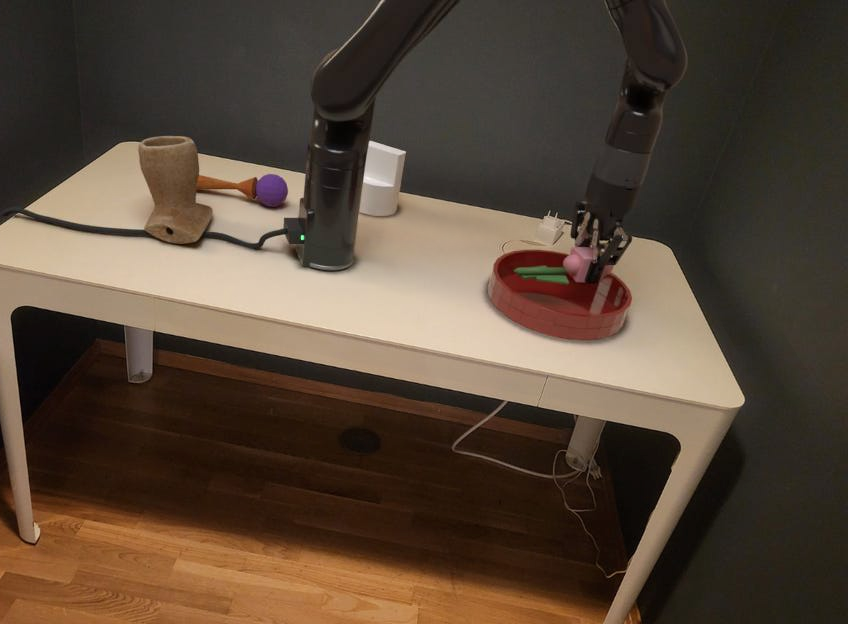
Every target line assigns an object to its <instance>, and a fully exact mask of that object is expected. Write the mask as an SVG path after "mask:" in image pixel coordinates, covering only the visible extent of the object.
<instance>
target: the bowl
mask: <svg viewBox="0 0 848 624" xmlns="http://www.w3.org/2000/svg"><path fill="white" fill-rule="evenodd" d="M569 254H570V253H564V252H560V251H555V250H547V249H520V250H513V251H509V252H507V253H504V254H502V255H500V256H499V257H498V258H497V259H496V260H495V262H494V263H493V266H492V270H491V272H490V277H489V281H488V284H487V285H488V286H487V295H488V298H489V300H490V302H491V303H492V305H493V306H494V307H495V309H497V310H498V311H499V312H500V313H501V314H502V315H503V316H505V317H506V318H508V319H509V320H511V321H513V322H514V323H516V324H518V325H519V326H522V327H524V328H526V329H528V330H530V331H533V332H535V333H540V334H541V335H546V336H550V337H553V338H558V339H563V340H571V341H572V340H573V341H595V340H597V341H598V340H602V339H605V338H608V337H611V336H613V335H615V334H617V333H618V332H619V331H620V330H621V329H622V328H623V326H624V324H625V320H626V318H627V315H628V312H629V310H630V308H631V305H632V301H633V297H632V292H631V290H630V288H629V287H628V285H627V284H626V283H625V282H624V281H623V280H622V279H621V278H619V277H618V275H616V274H615V273H613V272H612V271H611V272H610V274H608V275H607V276H605V277H604V279H603V282H598V283H597V284H587V283H586V282H576V281H575V280H574V279H573V278H572V277H571V276H570V275H569V274H557V275H565V276H566V277H567V279H568V281H569V284H568V285H567V284H559V283H551V282H543V281H537V280H536V278H533V279H526V280H524V279H523V278H521V277H520V276H519V275H518V274H516V273H515V272H514V269H517V268H519V267H537V266H546V267H563V261H564V259H565V258H566V257H567V256H569Z"/></svg>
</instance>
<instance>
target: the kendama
mask: <svg viewBox="0 0 848 624" xmlns="http://www.w3.org/2000/svg"><path fill="white" fill-rule="evenodd" d="M196 190H236V191H238V192H240V193H242V194H243V195H245V196H247V197H249V198H250V199H251V200H254V201H255V200H256V199H258V200H259V202H260V203H261V204H263V205H264V206H266V207H277V206H281V205H282V204H283V203H284V202H285V201H286V199H287V197H288V194H289V188H288V184H287V182H286V181H285V179H284V178H283V177H281V176H280V175H278V174H274V173H268V174H265V175H263V176H262V177H260V178H259V179H258V177H257V176H254V177H252V178H248V179H246V180H243V181H240V182H237V183H236V182H232V181H227V180H224V179H220V178H214V177H211V176H205V175H201V174H199V177H198V182H197V188H196Z"/></svg>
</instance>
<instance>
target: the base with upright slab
mask: <svg viewBox="0 0 848 624" xmlns="http://www.w3.org/2000/svg"><path fill="white" fill-rule="evenodd" d="M406 153H407V151H405V150H403V149H399V148H395V147H392V146H389V145H385V144H382V143H379V142H376V141H373V140H370V141H369V146H368V151H367V157H366V165H365V173H364V180H363V187H362V195H361V202H360V210H359V213H362V214H364V215H367V216H372V217H388V216H392V215H394V214H396V213H397V209H398V204H399V199H400V198H399V197H400V191H401V185H402V178H403V172H404V167H405V159H406Z"/></svg>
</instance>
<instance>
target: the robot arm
mask: <svg viewBox="0 0 848 624" xmlns="http://www.w3.org/2000/svg"><path fill="white" fill-rule="evenodd" d="M461 1H462V0H377V1H376V3H375V4H374V6H373V8H372V9H371V10H370V11H369V14H368V15H367V16H366V18H365V19H364V20H363V22H362V23H361V24H360V25H359V26H358V27H357V29H356V30H355V31H353V32H352V34H351V35H350V36H349V37H348V38H347V39H346V40H345V42H343V44H341V45H340V46H339V47H338V48H336V49H333V50H332V51H329V53H327V54H326V55H325V56H324V57H323V59H321V61H320V62H319V64H318V65H317V67H316V68H315V70H314V72H313V73H312V74H313V75H312V77H311V81H310V96H311V101H312V105H313V113H312V122H311V127H310V132H309V136H308V141H307V152H306V164H305V175H304V188H303V197H300V198H299V206H298V217H283V225H282V226H283V227H282V228H280V229H275V230H272V231H268V232H266V233H264V234H262V235H261V236H260V238H259V240H258V242H255V243H253V242H246V241H243V240H241V239H239V238H236V237H234V236H231V235H229V234H227V233H223V232H217V231H209V230H204V232H203V234H202V235H201V237H202V238H203V237H204V238H215V239H221V240H224V241H228V242H229V243H233V244H235V245H237V246H241V247H243V248H248V249H251V250H258V249H261V248H262V247H263V246H264V244H265V242H266V241H267V240H268V239H271V238H274V237H279V236H283V235H284V236H285V238H286V240H287V243H288V245H295V251H296V255H297V258H298V259H299V261H300V264H301V266H302V267H310V268H313V269H316V270H322V271H340V270H345V269H347V268H349V267H351V266H352V265H353V263H354V258H355V257H354V256H355V255H354V254H355V246H356V245H355V244H356V239H357V231H358V223H359V216H360V212H359V210H360V202H361V195H362V187H363V180H364V173H365V165H366V157H367V151H368V146H369V141H371V134H372V126H373V119H374V113H375V105H376V98H377V95H378V94H379V93H380V91H381V90H382V88H383V87H384V85H385V83H386V82H387V81H388V80H389V78H390V77H391V76H392V74H393V73H394V71H395V70H396V69H397V67H398V66H399V65H400V64H401V62H402V61H403V60H404V59H405V58H406V56H407V55H408V54H410V53H411V52H412V50H414V48H416V47H417V46H418V45H419V44H420V43H421V42H422V41H423V40H424V39H425V38H427V36H428V35H429V34H431V32H432V31H433V30H435V29H436V28H437V27H438V25H439V24H441V22H443V20H444V19H445V18H446V17H447V16H448V15H449V14H450V13H451V12H452V11H453V10H454V9H455V8H456V7H457V6H458V4H459V3H461ZM603 2H604V5H605V8H606V10H607V13H608V15H609V17H610V19H611V21H612V23H613V24H614V27H616V29H617V31H618V34H619V36H620V40H621V43H622V46H623V49H624V52H625V54H626V62H625V65H624V69H623V72H622V77H621V82H620V87H619V91H618V95H617V101H616V104H615V108H614V111H613V113H612V115H611V118H610V121H609V124H608V127H607V130H606V133H605V136H604V140H603V142H602V144H601V146H600V148H599V151H598V153H597V156H596V158H595V160H594V161H595V162H594V164H593V168H592V171H591V174H590V177H589V180H588V183H587V187H586V189H585V193H584V199H585V201H580V200H579V201H575V202H574V205H573V214H572V221H571V228H570V235H569V236H570V238H571V239H573V240H574V247H593V248H594V250H593V257H592V261H591V263H590V266H589V269H588V272H587V274H586V277H585V282H586V283H587V284H597V283H598V282H599V281H600V278H601V276H602V273H603V270H604V267H605V265H613V266H616V265H617V264H618V263H619V261H620V260H621V258H622V257H623V255H624V254H625V252H626V251H627V250H628V248H629V246H630V245H631V244H632V242H633V236H632V235H631V234H626V232H625V231H624V229H623V228H624V224H625V223H624V222H625V218H626V217H625V216H626V215H627V214H628V213H631V211H633V210H634V208H635V205H636V202H637V200H638V197H639V194H640V191H641V189H642V186H643V183H644V180H645V177H646V175H647V172H648V169H649V165H650V162H651V157H652V154H653V150H654V147H655V145H656V142H657V139H658V136H659V134H660V131H661V127H662V124H663V117H664V112H663V110H664V109H663V108H664V103H665V100H666V98H667V94H668V92H669V90H671V89H672V88H674V87H675V86H676V85H678V84H679V83H680V81H681V80H682V79H683V77H684V75H685V73H686V71H687V68H688V60H689V59H688V53H687V49H686V47H685V43H684V41H683V39H682V36H681V34H680V31H679V29H678V27H677V24H676V23H675V21H674V18H673V16H672V14H671V12H670V10H669V8H668V5H667V3H666V0H603ZM11 214H21V215H23V216H26V217H29V218H31V219H34V220H37V221H41V222H45V223H49V224H53V225H57V226H61V227H66V228H69V229H75V230H80V231H86V232H92V233H93V232H94V233H100V234H101V233H103V234H111V235H112V234H113V235H127V236H128V235H129V236H153V235H152V234H150V233H148V232H147V231H145V229H138V228H137V229H135V228H134V229H133V228H121V227H120V228H119V227H106V226H97V225H89V224H83V223H77V222H72V221H69V220H63V219H60V218H57V217H56V218H55V217H52V216H47V215H43V214H39V213H36V212H33V211H31V210H29V209H25V208H23V207H19V206H11V207H7V208H6V209H4V210H3V211H2V212H1V213H0V216H1V217H7V216H9V215H11ZM580 224H581V225H580ZM579 225H580V226H579ZM602 250H603V252H604V253H603V255H602V256H600V251H602Z"/></svg>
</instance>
